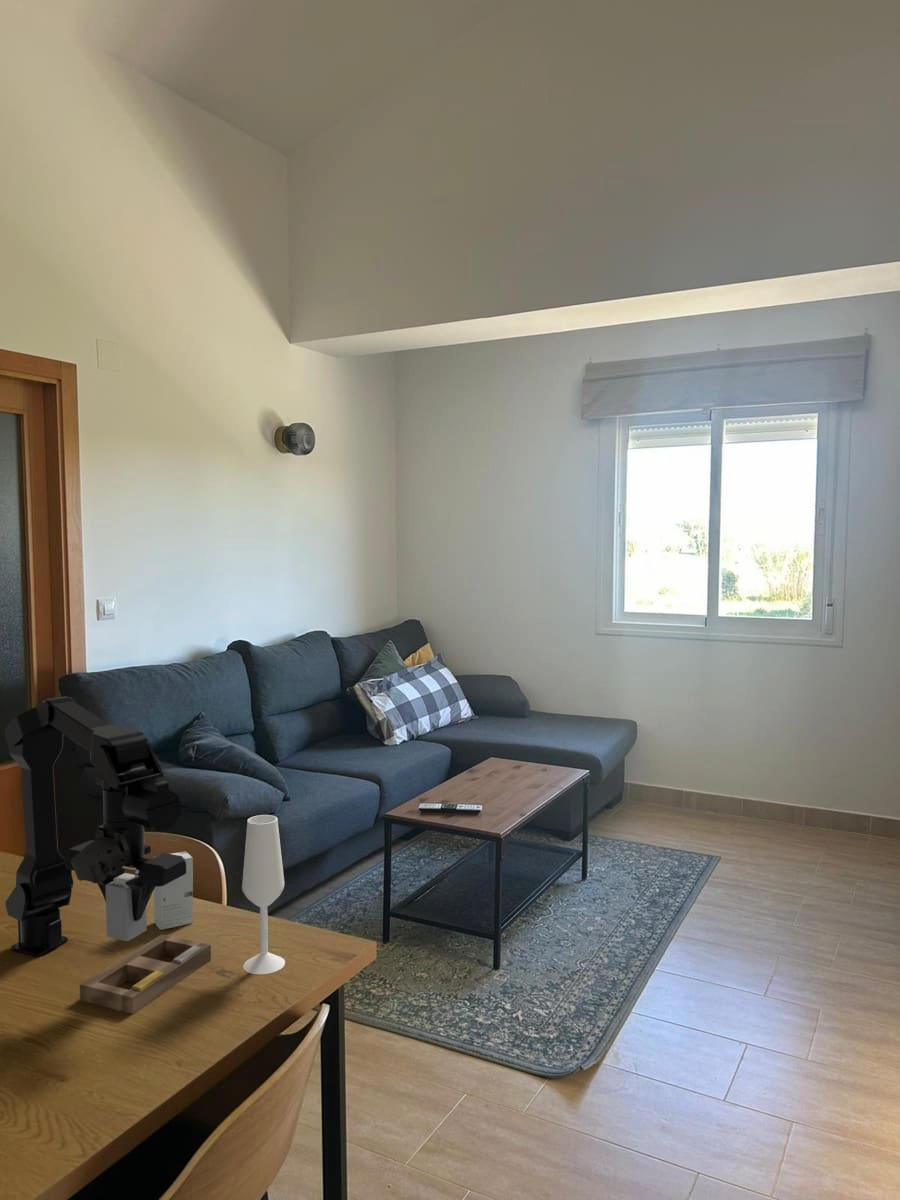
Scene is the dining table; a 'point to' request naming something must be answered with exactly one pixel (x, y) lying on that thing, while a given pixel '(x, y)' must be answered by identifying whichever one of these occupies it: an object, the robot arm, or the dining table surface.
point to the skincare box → (175, 899)
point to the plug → (122, 910)
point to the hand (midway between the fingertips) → (126, 917)
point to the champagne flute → (263, 883)
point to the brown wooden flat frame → (145, 973)
